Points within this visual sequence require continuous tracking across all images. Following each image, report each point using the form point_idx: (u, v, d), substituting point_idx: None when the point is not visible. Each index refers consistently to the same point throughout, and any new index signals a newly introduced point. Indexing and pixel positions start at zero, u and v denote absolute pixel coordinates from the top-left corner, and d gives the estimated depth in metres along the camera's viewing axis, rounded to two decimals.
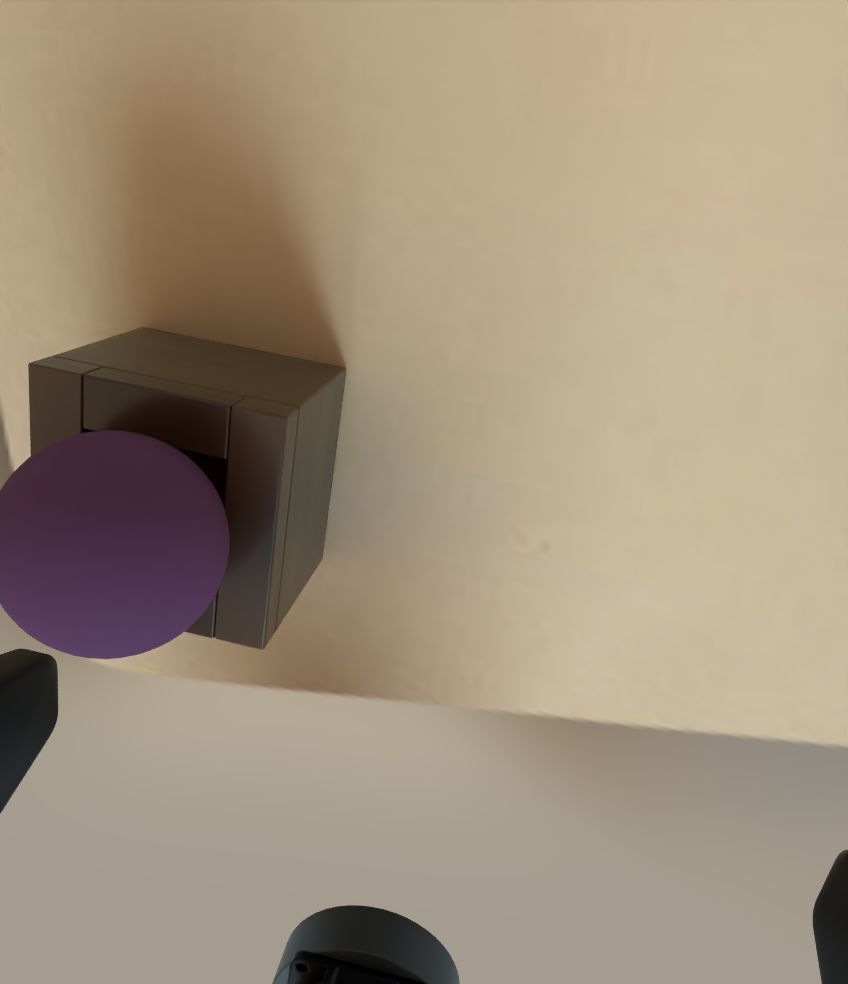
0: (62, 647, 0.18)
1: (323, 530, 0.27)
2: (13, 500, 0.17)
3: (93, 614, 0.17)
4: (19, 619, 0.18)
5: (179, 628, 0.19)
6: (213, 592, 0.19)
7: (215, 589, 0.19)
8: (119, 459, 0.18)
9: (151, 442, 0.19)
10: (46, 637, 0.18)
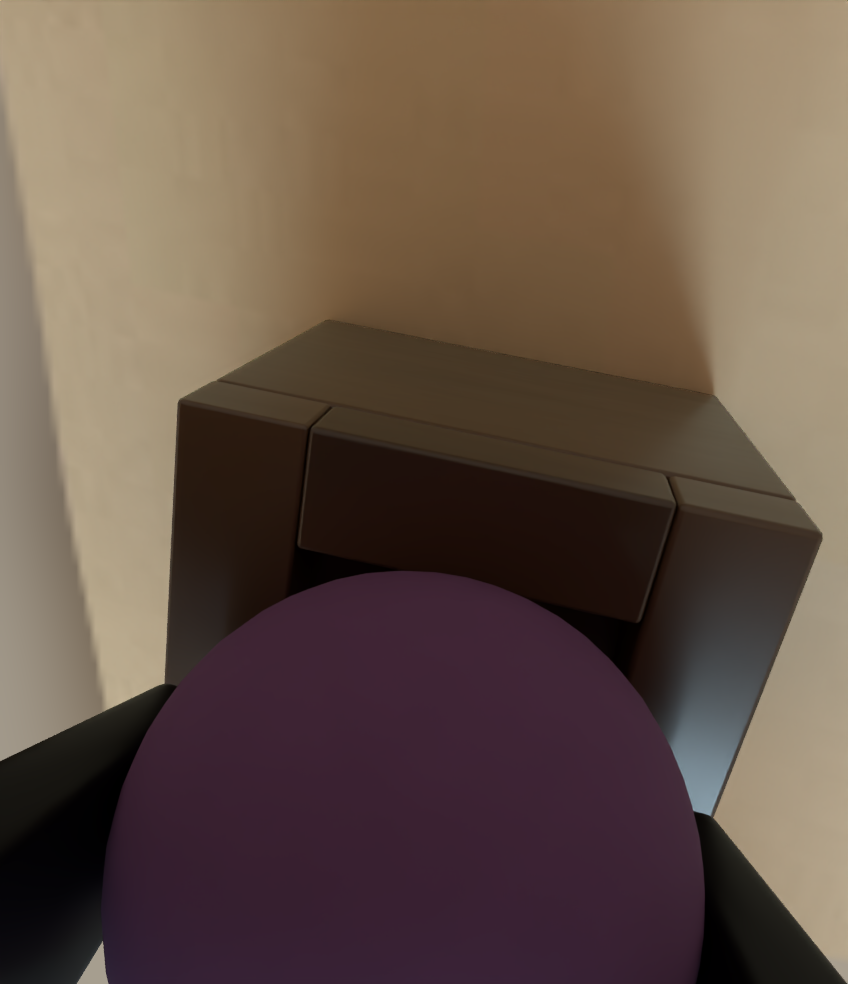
0: None
1: None
2: (210, 841, 0.06)
3: None
4: None
5: None
6: None
7: None
8: (508, 696, 0.06)
9: (531, 615, 0.07)
10: None
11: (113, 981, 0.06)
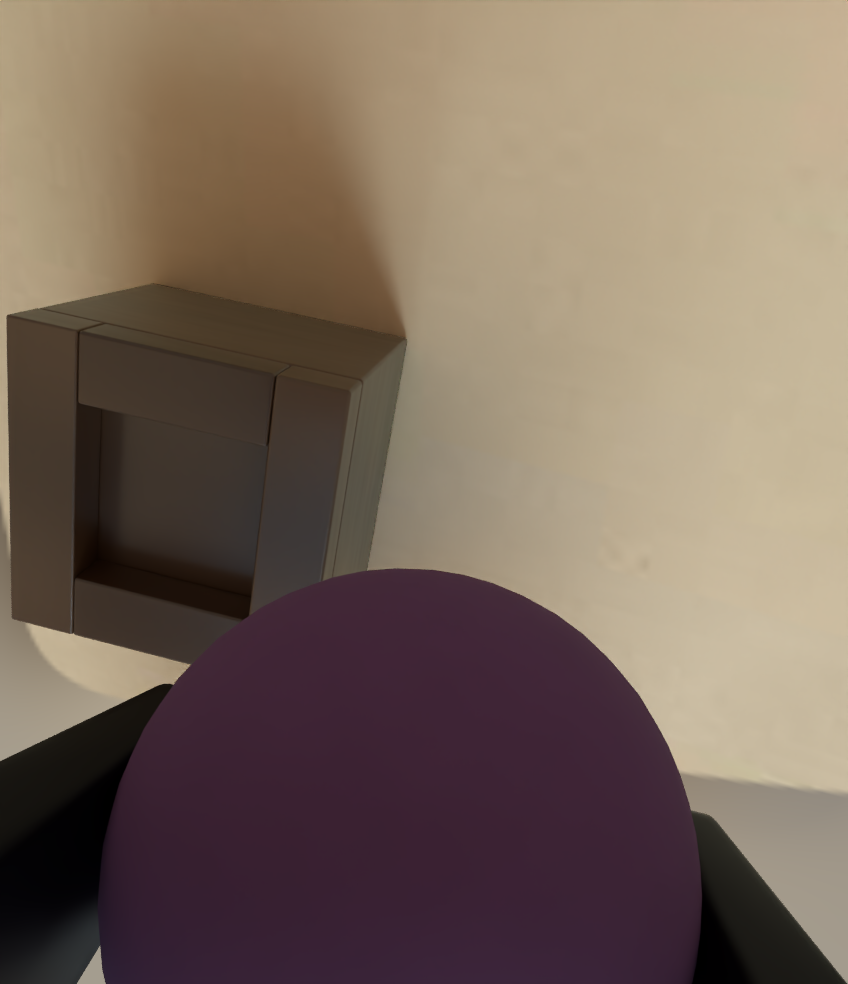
0: None
1: (370, 538, 0.22)
2: (207, 837, 0.06)
3: None
4: None
5: None
6: None
7: None
8: (505, 693, 0.06)
9: (528, 612, 0.07)
10: None
11: (109, 978, 0.06)
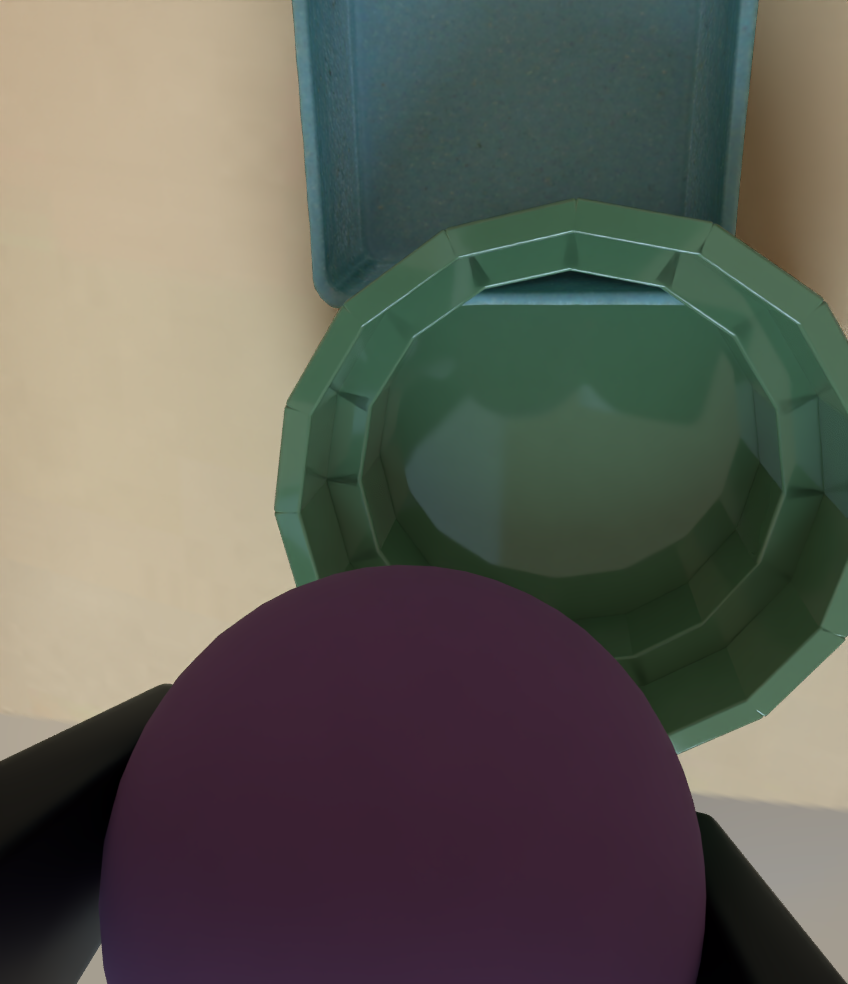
0: None
1: None
2: (208, 835, 0.06)
3: None
4: None
5: None
6: None
7: None
8: (508, 689, 0.06)
9: (531, 609, 0.07)
10: None
11: (111, 976, 0.06)
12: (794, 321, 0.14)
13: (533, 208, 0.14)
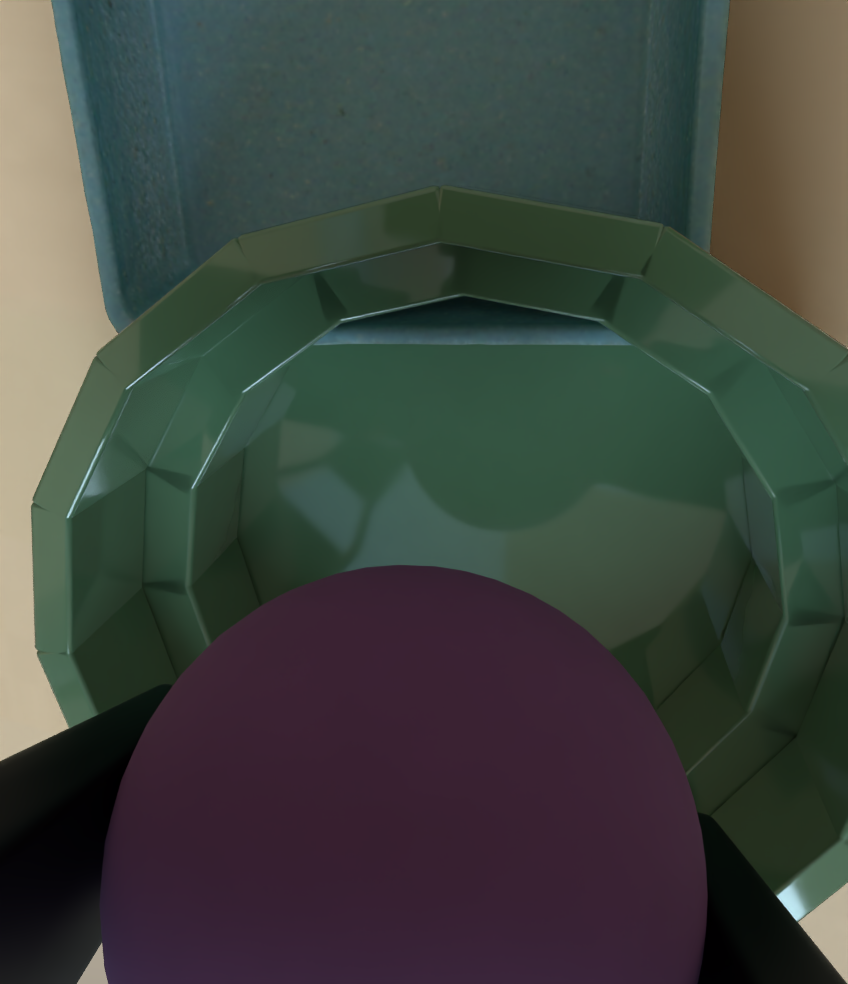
0: None
1: None
2: (209, 834, 0.06)
3: None
4: None
5: None
6: None
7: None
8: (510, 687, 0.06)
9: (532, 608, 0.07)
10: None
11: (112, 976, 0.06)
12: (800, 386, 0.09)
13: (372, 203, 0.09)
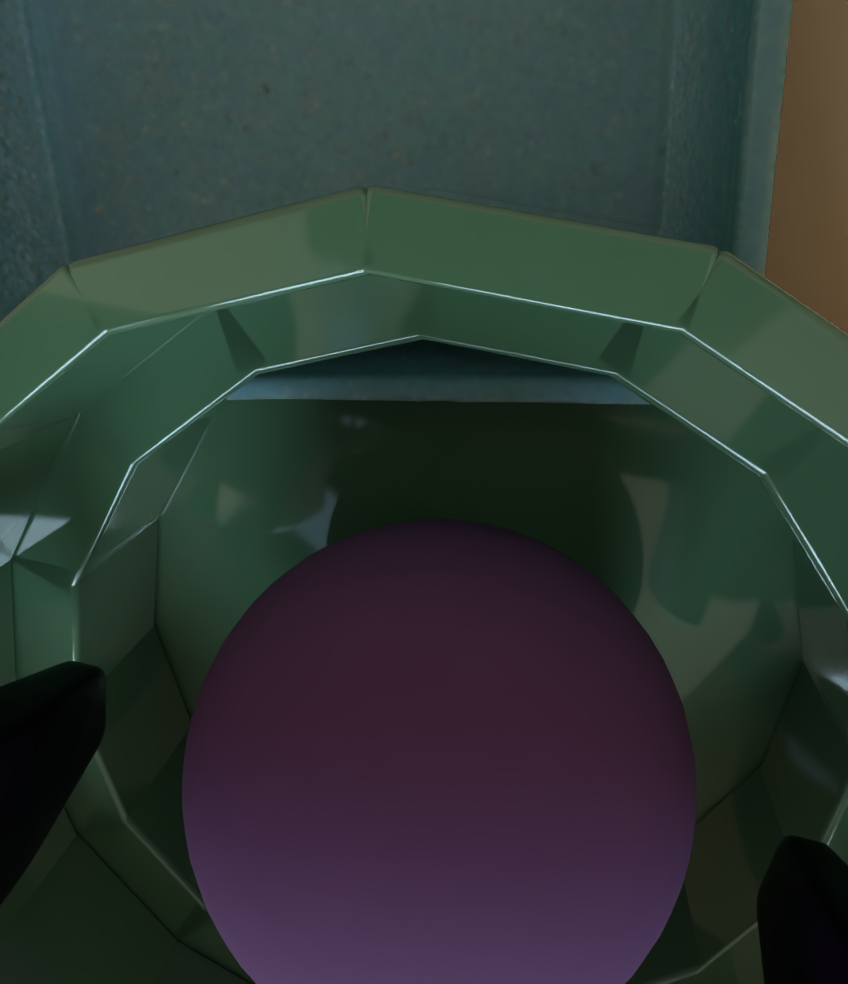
0: None
1: None
2: (296, 733, 0.07)
3: None
4: None
5: None
6: None
7: None
8: (537, 609, 0.07)
9: (545, 550, 0.08)
10: None
11: (206, 863, 0.07)
12: None
13: (264, 214, 0.06)
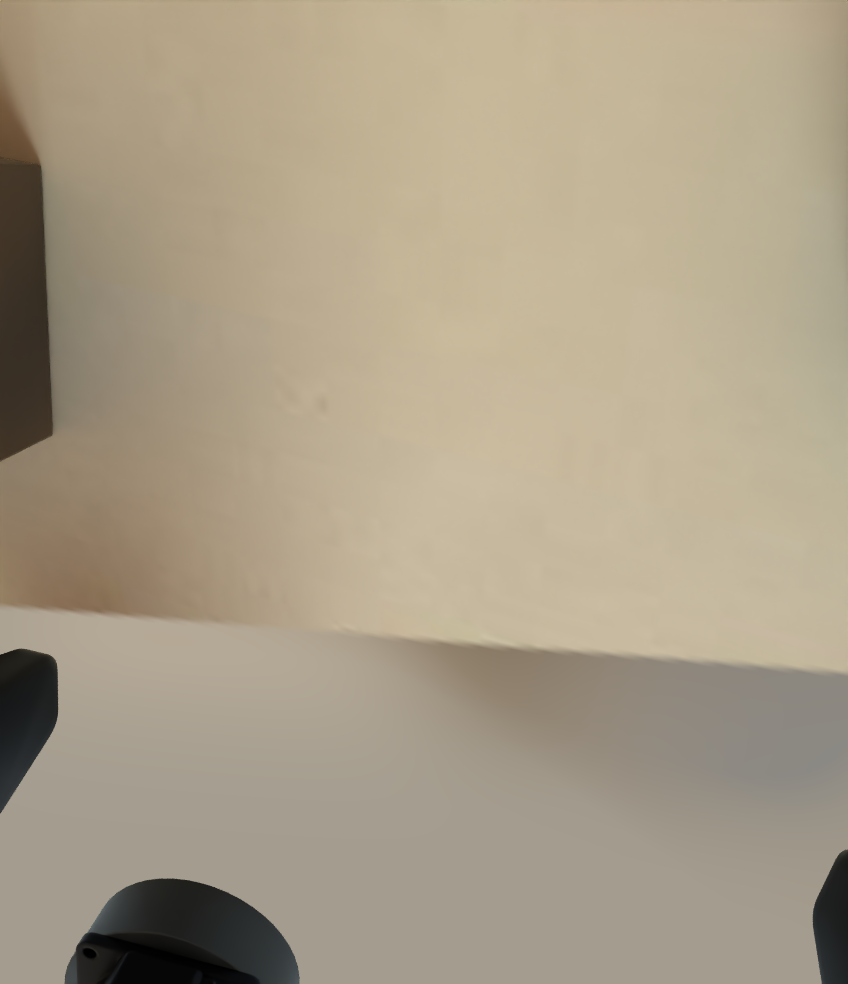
0: None
1: (42, 392, 0.21)
2: None
3: None
4: None
5: None
6: None
7: None
8: None
9: None
10: None
11: None
12: None
13: None
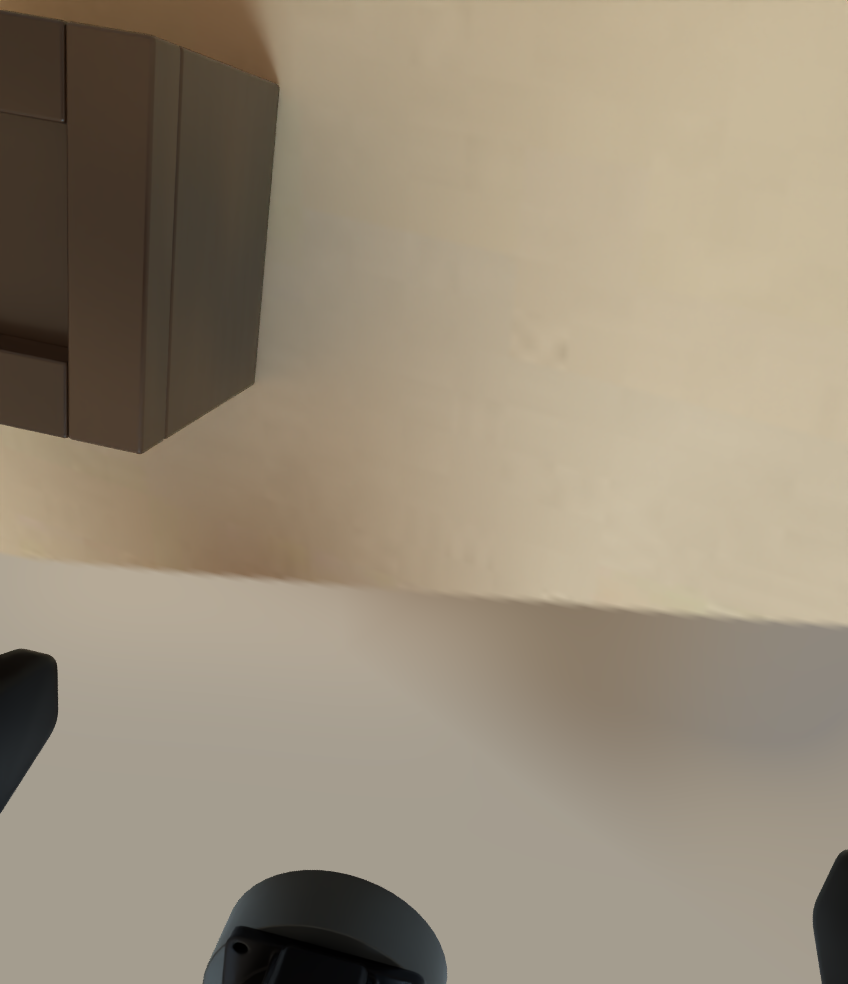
0: None
1: (253, 335, 0.19)
2: None
3: None
4: None
5: None
6: None
7: None
8: None
9: None
10: None
11: None
12: None
13: None
